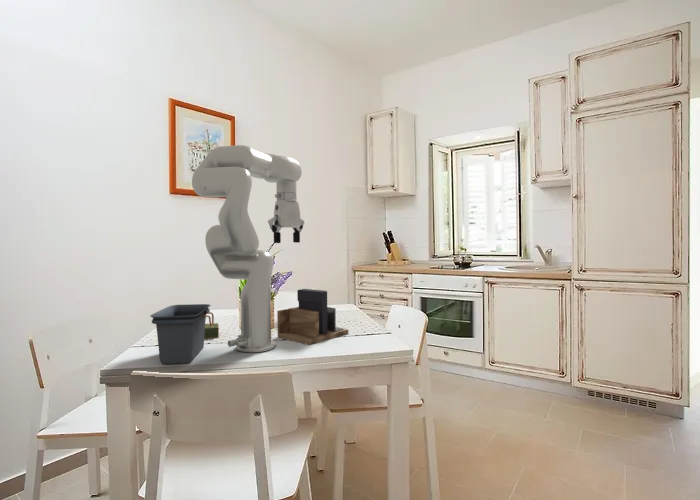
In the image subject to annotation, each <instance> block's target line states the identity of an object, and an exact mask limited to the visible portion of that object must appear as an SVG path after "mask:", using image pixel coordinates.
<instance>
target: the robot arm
mask: <svg viewBox="0 0 700 500" xmlns="http://www.w3.org/2000/svg"><path fill="white" fill-rule="evenodd" d="M302 173H303V172H302V167H301V165H300V162H298V161H297V160H296V159H294V158H291V157H289V156H283V155H276V154H272V153H267V152H262V151H260V150H258V149H256V148H253V147H250V146H249V145H243V144H242V145H241V144H240V145H238V144H237V145H222V146H217V147H215V148H213V149H211V151H209V152H208V153H207V155H206V156H205V157H204V158H203V160H201V162H200V164H199V165H198V166H197V168H196V169H195V170H194V172H193V174H192V176H191V177H192V178H191V187H192V189H193V191H194V193H195V194H196V195H198V196H199V197H202V198H205V199H206V198H208V199H209V198H225V200H224V203H223V204H222V206H221V208H220V210H219V213H218V217H217V218H218V222H219V224H215V225H212V226H211V227H210V228H208V230H207V232H206V233H205V238H204V239H205V240H204V242H205V247H206V250H207V253H208V254H209V257H210V258H211V260H212V262H213V264H214V266H215V267H216V269H217V270H218V272H219V274H220V275H221V276H222V277H223V278H225V279H229V280H246V283H245V284H244V285H243V287H242V289H241V291H240V334H238V336H237V337H236V338H235V339H230V340H228V341H227V345H228V346H227V347H228V348H232V347H236V350H237V351H238V352H243V353H261V352H268V351H270V350H273V349H275V348H276V347H277V342H276V341H275V340H273V339H272V309H271V308H272V304H271V303H272V299H271V298H272V297H271V296H272V295H271V293H272V292H271V285H272V276H273V269H274V259H273V256H272V255H271V254H270V253H269V252H268V251H266V250H262V249H259V248H260V247H259V246H260V241H259V237H258V234H257V232H256V230H255V228H254V224H253V222H252V220H251V218H250V216H249V212H248V206H249V200H250V196H251V190H252V184H253V183H252V182H253V181H252V180H253V179H252V177H253V178H256V179H264V181H266V182H268V183H274V184H275V183H276V184H275V185H276V188H275V189H276V193H275V194H274V197H275V198H276V200H275V204H274V209H273V217H271V218H270V219H268V220H267V223H268V226H269V229H271V232H272V233H273V243H274V244H281V241H282V239H281V238H282V237H281V235H282V234H281V232H280V231H281V229H282V228H292V230H293V233H292V237H293V238H292V241H293V243H294V244H295V243H300V242H301V232H302V230H303V228H304V226H305V221H304V220H303V219H302V218H301V211H300V204H299V202H298V200H297V182H298V181H299V180H300V179H301V178H302V177H301V176H302Z"/></svg>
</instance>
